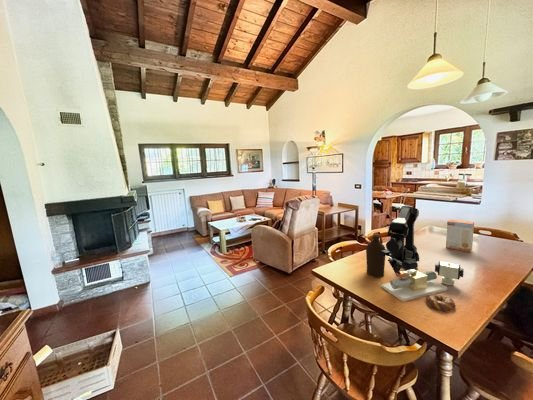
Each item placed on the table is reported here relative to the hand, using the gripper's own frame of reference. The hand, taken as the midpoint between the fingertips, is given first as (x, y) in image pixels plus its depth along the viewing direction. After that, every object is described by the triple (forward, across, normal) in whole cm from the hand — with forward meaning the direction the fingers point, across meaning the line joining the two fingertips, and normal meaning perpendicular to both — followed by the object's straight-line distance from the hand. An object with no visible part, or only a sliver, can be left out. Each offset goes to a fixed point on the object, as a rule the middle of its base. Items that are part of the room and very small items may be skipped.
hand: (396, 274), depth 118 cm
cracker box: (+10, +23, -83) cm, 86 cm away
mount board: (+9, -3, -9) cm, 13 cm away
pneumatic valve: (+9, -6, -29) cm, 31 cm away
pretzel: (+9, -17, -8) cm, 21 cm away
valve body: (+7, -3, -9) cm, 12 cm away
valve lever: (0, -3, -4) cm, 5 cm away
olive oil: (+9, +18, -3) cm, 20 cm away
